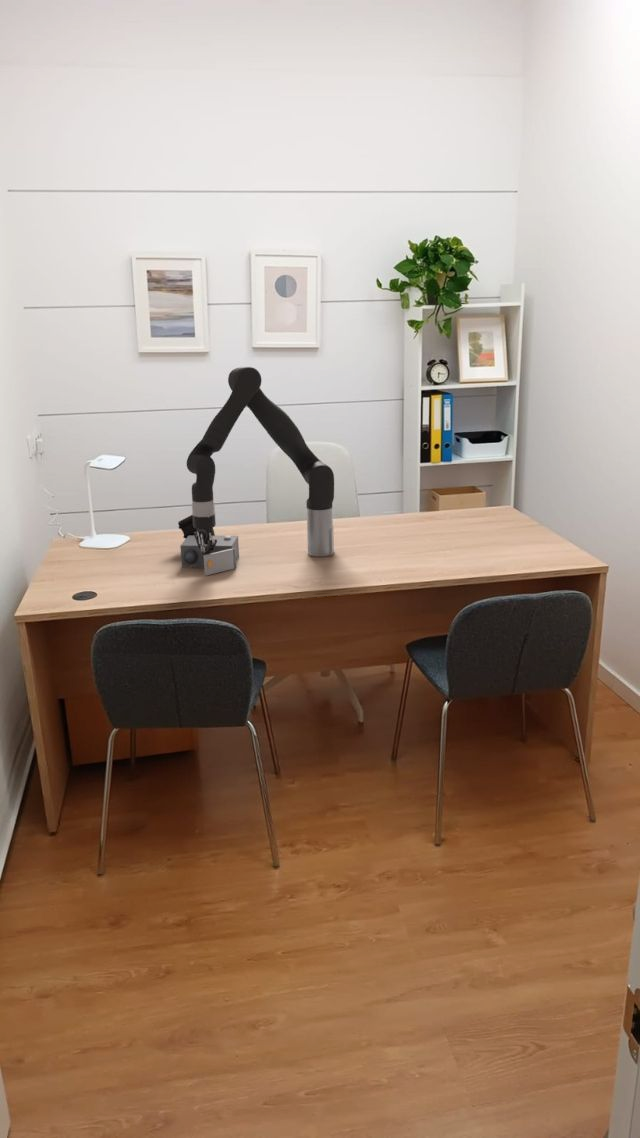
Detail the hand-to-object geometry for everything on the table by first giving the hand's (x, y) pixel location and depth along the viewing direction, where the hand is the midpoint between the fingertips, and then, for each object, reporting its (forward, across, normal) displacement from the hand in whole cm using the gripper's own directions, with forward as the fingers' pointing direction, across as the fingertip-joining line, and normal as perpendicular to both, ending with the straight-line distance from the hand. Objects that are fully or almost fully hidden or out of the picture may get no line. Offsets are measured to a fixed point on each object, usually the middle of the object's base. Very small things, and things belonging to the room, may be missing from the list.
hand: (206, 561), depth 291 cm
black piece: (+4, -26, +10) cm, 28 cm away
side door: (+3, +3, +4) cm, 6 cm away
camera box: (+4, -9, +6) cm, 11 cm away
